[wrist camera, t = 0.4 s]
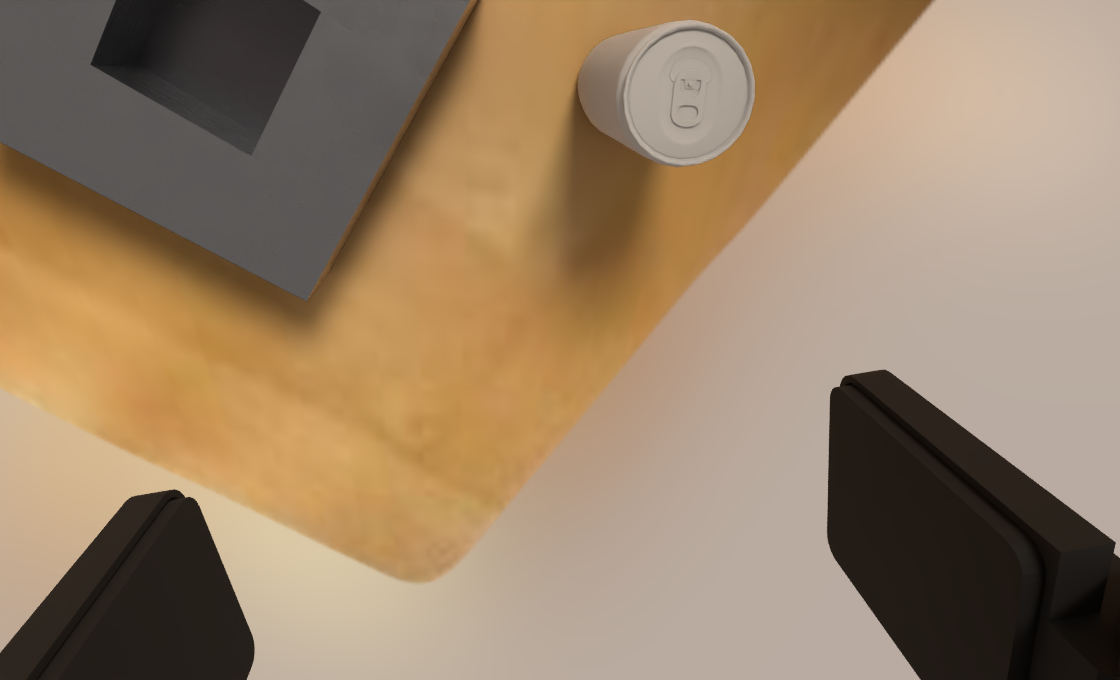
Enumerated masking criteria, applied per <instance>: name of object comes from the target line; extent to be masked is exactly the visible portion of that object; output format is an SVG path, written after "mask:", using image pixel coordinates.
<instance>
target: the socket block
mask: <svg viewBox="0 0 1120 680" xmlns="http://www.w3.org/2000/svg"><path fill="white" fill-rule="evenodd" d="M477 1H478V0H0V142H1V143H3V144H5V145H7V146H9V147H11V148H13V149H15V150H16V151H18V152H20V153H22V154H24V155H26V156H28V157H30V158H32V159H34V160H36V161H38V162H40V163H41V164H43V165H45V166H47V167H49V168H51V169H53V170H55V171H57V172H59V173H61V174H63V175H65V176H66V177H68V178H70V179H72V180H74V181H76V182H78V183H80V184H82V185H84V186H86V187H88V188H90V189H91V190H93V191H95V192H97V193H99V194H101V195H103V196H105V197H107V198H109V199H111V200H113V201H115V202H116V203H118V204H120V205H122V206H124V207H126V208H128V209H130V210H132V211H134V212H136V213H138V214H140V215H141V216H143V217H145V218H147V219H149V220H151V221H153V222H155V223H157V224H159V225H161V226H163V227H165V228H166V229H168V230H170V231H172V232H174V233H176V234H178V235H180V236H182V237H184V238H186V239H188V240H190V241H191V242H193V243H195V244H197V245H199V246H201V247H203V248H205V249H207V250H209V251H211V252H213V253H215V254H216V255H218V256H220V257H222V258H224V259H226V260H228V261H230V262H232V263H234V264H236V265H238V266H240V267H241V268H243V269H245V270H247V271H249V272H251V273H253V274H255V275H257V276H259V277H261V278H263V279H265V280H266V281H268V282H270V283H272V284H274V285H276V286H278V287H280V288H282V289H284V290H286V291H288V292H290V293H291V294H293V295H295V296H297V297H299V298H301V299H303V300H305V301H307V300H308V299H309V297H310V296H311V295H312V293H313V292H314V291H315V290H316V288H317V287H318V286H319V284H320V283H321V282H322V280H323V279H324V278H325V276H326V275H327V274H328V273H329V271H330V269H331V268H332V266H333V264H334V262H335V260H336V259H337V257H338V255H339V253H340V251H341V249H342V248H343V246H344V244H345V242H346V240H347V238H348V237H349V235H350V233H351V231H352V229H353V227H354V226H355V224H356V222H357V220H358V218H359V216H360V215H361V213H362V211H363V209H364V207H365V205H366V204H367V202H368V200H369V198H370V196H371V195H372V193H373V191H374V189H375V187H376V185H377V184H378V182H379V180H380V178H381V176H382V174H383V173H384V171H385V169H386V167H387V165H388V163H389V162H390V160H391V158H392V156H393V154H394V152H395V151H396V149H397V147H398V145H399V143H400V142H401V140H402V138H403V136H404V134H405V132H406V131H407V129H408V127H409V125H410V123H411V121H412V120H413V118H414V116H415V114H416V112H417V110H418V109H419V107H420V105H421V103H422V101H423V99H424V98H425V96H426V94H427V92H428V90H429V89H430V87H431V85H432V83H433V81H434V79H435V78H436V76H437V74H438V72H439V70H440V68H441V67H442V65H443V63H444V61H445V59H446V57H447V56H448V54H449V52H450V50H451V48H452V46H453V45H454V43H455V41H456V39H457V37H458V35H459V34H460V32H461V30H462V28H463V26H464V25H465V23H466V21H467V19H468V17H469V15H470V14H471V12H472V10H473V8H474V6H475V4H476V3H477Z"/></svg>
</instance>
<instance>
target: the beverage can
mask: <svg viewBox="0 0 1120 680" xmlns="http://www.w3.org/2000/svg"><path fill="white" fill-rule="evenodd" d="M577 86H578V93H579V100H580V102H581V105H582V107H583V110H584V112H585V114H586V116H587V117H588V119H589V121H590V122H591V123H592V124H593V125H594V126H595V127H596V128H597V129H598V130H599V131H601V132H602V133H604V134H606V135H607V136H609V137H611V138H613V139H614V140H616V141H618V142H620V143H621V144H623V145H625V146H626V147H628V148H630V149H632V150H633V151H635V152H637V153H638V154H640V155H642V156H644V157H646V158H648V159H650V160H652V161H654V162H656V163H658V164H662V165H668V166H674V167H682V166H691V165H696V164H701V163H703V162H706V161H708V160H711V159H714V158H716V157H717V156H718V155H720V154H721V153H723V152H724V151H725V150H727V149H728V148H730V146H731V145H732V144H733V143H734V142H735V141H736V140H737V138H738V137H739V136H740V135H741V134H742V132H743V130H744V128H745V126H746V124H747V122H748V120H749V118H750V115H751V111H752V108H753V104H754V100H755V79H754V75H753V71H752V66H751V63H750V61H749V59H748V57H747V55H746V53H745V52H744V50H743V48H742V47H741V46H740V45H739V43H738V42H737V41H736V40H735V39H734V38H733V37H732V36H731V35H730V34H728V33H726V32H724V31H723V30H721V29H719V28H717V27H715V26H714V25H712V24H710V23H706V22H701V21H696V20H682V21H672V22H668V23H664V24H659V25H655V26H651V27H647V28H643V29H639V30H634V31H630V32H626V33H622V34H618V35H615V36H612V37H610V38H607V39H605V40H603V41H602V42H600V43H599V44H598V45H597V46H595V47H594V48H593V49H592V50H591V52H590V53H589V54H588V56H587V57H586V58H585V60H584V62H583V64H582V67H581V69H580V71H579V77H578V84H577Z"/></svg>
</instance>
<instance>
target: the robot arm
mask: <svg viewBox="0 0 1120 680" xmlns="http://www.w3.org/2000/svg"><path fill="white" fill-rule="evenodd" d="M828 472H829V473H828V517H827V519H828V521H827V537H828V543H829V546H830V549H831V552H832V554H833V556H834V558H835V560H836V561H837V562H838V564H839V565H840V567H841V568H842V570H843V571H844V572H845V574H846V575H847V576H848V578H849V579H850V581H851V582H852V584H853V585H854V586H855V588H856V589H857V591H858V592H859V593H860V595H861V596H862V598H863V599H864V600H865V602H866V603H867V605H868V606H869V607H870V609H871V610H872V612H873V613H874V614H875V616H876V617H877V619H878V620H879V622H880V623H881V624H882V626H883V627H884V629H885V630H886V631H887V633H888V634H889V636H890V637H891V638H892V640H893V641H894V643H895V644H896V646H897V647H898V648H899V650H900V651H901V652H902V654H903V655H904V657H905V658H906V660H907V661H908V662H909V664H910V665H911V667H912V668H913V669H914V671H915V672H916V674H917V675H918V677H919V678H920V679H921V680H1120V558H1119V557H1118V556H1116V555H1115V554H1114V548H1115V544H1116V543H1115V542H1114V541H1113V540H1112V539H1110V538H1109V537H1108V536H1106V535H1105V534H1103V533H1102V532H1101V531H1100V530H1098V529H1097V528H1095V527H1094V526H1093V525H1092V524H1090V523H1089V522H1088V521H1086V520H1085V519H1084V518H1082V517H1081V516H1080V515H1079V514H1077V513H1076V512H1074V511H1073V510H1072V509H1071V508H1069V507H1068V506H1067V505H1065V504H1064V503H1063V502H1061V501H1060V500H1059V499H1057V498H1056V497H1055V496H1053V495H1052V494H1051V493H1049V492H1048V491H1047V490H1045V489H1044V488H1043V487H1041V486H1040V485H1039V484H1037V483H1036V482H1035V481H1033V480H1032V479H1031V478H1029V477H1028V476H1027V475H1025V474H1024V473H1023V472H1022V471H1020V470H1019V469H1017V468H1016V467H1015V466H1014V465H1012V464H1011V463H1010V462H1008V461H1007V460H1006V459H1004V458H1003V457H1001V456H1000V455H999V454H998V453H996V452H995V451H994V450H992V449H991V448H990V447H988V446H987V445H986V444H984V443H983V442H982V441H980V440H979V439H978V438H976V437H975V436H973V435H972V434H971V433H970V432H968V431H967V430H966V429H964V428H963V427H962V426H960V425H959V424H958V423H957V422H955V421H954V420H953V419H951V418H950V417H949V416H947V415H946V414H945V413H943V412H942V411H941V410H939V409H938V408H936V407H935V406H934V405H933V404H931V403H930V402H929V401H927V400H926V399H925V398H923V397H922V396H921V395H919V394H918V393H917V392H915V391H914V390H913V389H911V388H910V387H909V386H908V385H906V384H905V383H903V382H902V381H901V380H899V379H898V378H897V377H896V376H894V375H893V374H892V373H890V372H889V371H887V370H878V371H871V372H866V373H860V374H854V375H849V376H845V377H844V378H843V379H842V381H841V384H840V387H835V388H834V389H832V391H831V395H830V425H829V471H828ZM253 660H254V640H253V637H252V634H251V631H250V629H249V626H248V624H247V622H246V619H245V617H244V614H243V612H242V609H241V607H240V604H239V602H238V600H237V597H236V595H235V592H234V590H233V588H232V585H231V582H230V580H229V578H228V575H227V573H226V571H225V568H224V565H223V564H222V561H221V558H220V556H219V553H218V551H217V548H216V546H215V544H214V541H213V539H212V536H211V534H210V531H209V529H208V526H207V524H206V522H205V519H204V517H203V514H202V512H201V509H200V507H199V505H198V503H197V501H195V499H193V498H191V497H187V498H185V496H184V495H183V494H182V493H181V492H180V491H178V490H168V491H162V492H157V493H150V494H144V495H138V496H134V497H131V498H129V499H128V500H127V501H126V502H125V503H124V504H123V506H122V507H121V508H120V509H119V510H118V512H117V513H116V514H115V515H114V516H113V518H112V519H111V520H110V521H109V522H108V524H107V525H106V526H105V527H104V529H103V530H102V531H101V532H100V533H99V534H98V536H97V537H96V538H95V539H94V541H93V542H92V543H91V544H90V545H89V546H88V548H87V549H86V550H85V551H84V553H83V554H82V555H81V556H80V557H79V559H78V560H77V561H76V562H75V563H74V565H73V566H72V567H71V568H70V569H69V571H68V572H67V573H66V574H65V575H64V577H63V578H62V579H61V580H60V581H59V583H58V584H57V585H56V586H55V587H54V589H53V590H52V591H51V592H50V594H49V595H48V596H47V597H46V598H45V600H44V601H43V602H42V603H41V604H40V606H39V607H38V608H37V609H36V610H35V612H34V613H33V614H32V615H31V616H30V618H29V619H28V620H27V621H26V623H25V624H24V625H23V626H22V627H21V628H20V630H19V631H18V632H17V633H16V635H15V636H14V637H13V638H12V639H11V641H10V642H9V643H8V644H7V645H6V647H5V648H4V649H3V650H2V651H1V653H0V680H247V677H248V675H249V672H250V669H251V667H252V664H253Z"/></svg>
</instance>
